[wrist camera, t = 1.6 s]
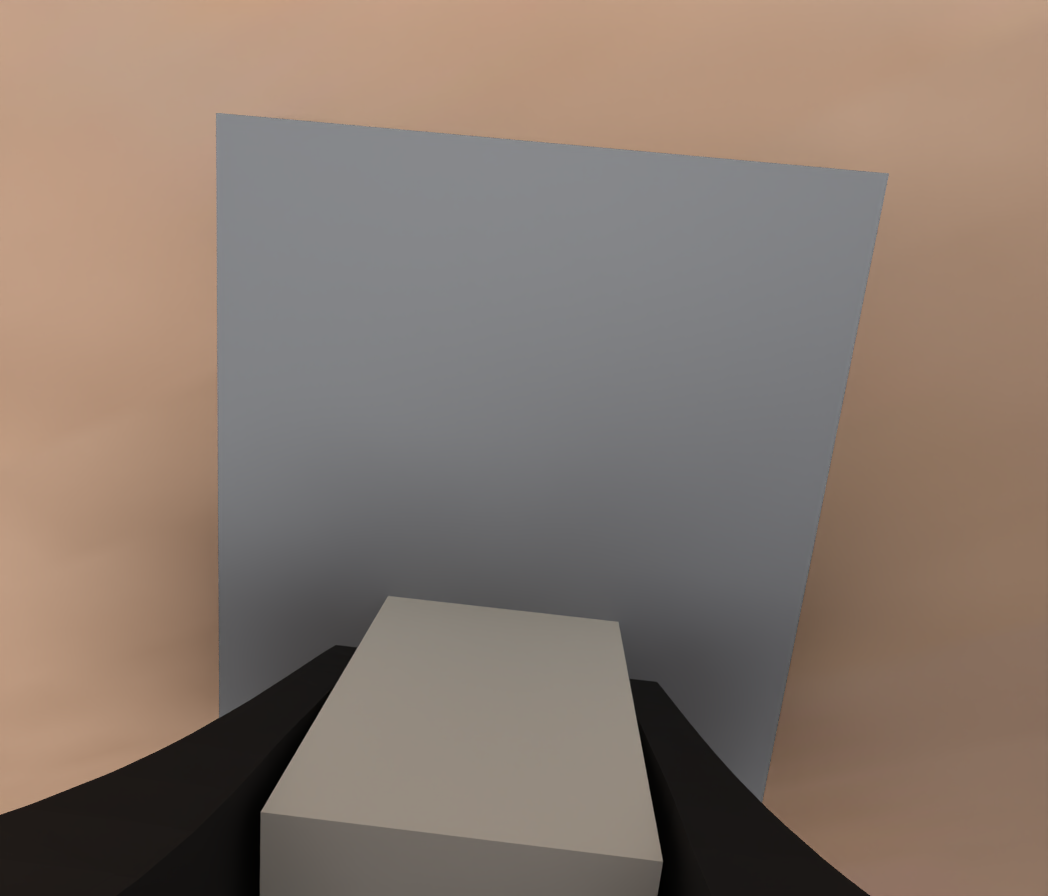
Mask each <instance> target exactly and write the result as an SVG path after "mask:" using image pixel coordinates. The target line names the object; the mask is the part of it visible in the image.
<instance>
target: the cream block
mask: <svg viewBox="0 0 1048 896" xmlns="http://www.w3.org/2000/svg"><path fill="white" fill-rule="evenodd" d="M662 865H663V858H662V853H661V848H660V842H659V837H658V832H657V826H656V821H655V816H654V810H653V805H652V799H651V794H650V789H649V783H648V778H647V773H646V767H645V762H644V756H643V751H642V746H641V740H640V735H639V730H638V724H637V719H636V714H635V708H634V703H633V697H632V692H631V687H630V681H629V676H628V671H627V665H626V660H625V654H624V649H623V644H622V638H621V633H620V628H619V622H616V621H607V620H598V619H589V618H580V617H572V616H563V615H554V614H545V613H536V612H527V611H518V610H509V609H500V608H491V607H482V606H474V605H465V604H456V603H447V602H438V601H429V600H420V599H411V598H402V597H393V596H388V597H387V599H386V600H385V602H384V604H383V605H382V607H381V609H380V610H379V612H378V614H377V616H376V617H375V619H374V621H373V622H372V624H371V626H370V627H369V629H368V631H367V632H366V634H365V636H364V638H363V639H362V641H361V643H360V644H359V646H358V648H357V649H356V651H355V653H354V655H353V656H352V658H351V660H350V661H349V663H348V665H347V666H346V668H345V670H344V671H343V673H342V675H341V677H340V678H339V680H338V682H337V683H336V685H335V687H334V688H333V690H332V692H331V694H330V695H329V697H328V699H327V700H326V702H325V704H324V705H323V707H322V709H321V710H320V712H319V714H318V716H317V717H316V719H315V721H314V722H313V724H312V726H311V727H310V729H309V731H308V733H307V734H306V736H305V738H304V739H303V741H302V743H301V744H300V746H299V748H298V749H297V751H296V753H295V755H294V756H293V758H292V760H291V761H290V763H289V765H288V766H287V768H286V770H285V772H284V773H283V775H282V777H281V778H280V780H279V782H278V783H277V785H276V787H275V788H274V790H273V792H272V794H271V795H270V797H269V799H268V800H267V802H266V804H265V805H264V807H263V809H262V811H261V822H260V896H657V895H658V889H659V883H660V877H661V871H662Z"/></svg>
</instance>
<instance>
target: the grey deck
mask: <svg viewBox="0 0 1048 896" xmlns="http://www.w3.org/2000/svg"><path fill="white" fill-rule="evenodd" d="M216 170H217V367H218V564H219V718H220V717H222V716H223V715H225V714H227V713H229V712H230V711H232V710H234V709H236V708H237V707H239V706H241V705H242V704H244V703H246V702H248V701H249V700H251V699H252V698H254V697H256V696H257V695H259V694H260V693H262V692H263V691H265V690H266V689H268V688H270V687H271V686H273V685H274V684H276V683H277V682H279V681H281V680H282V679H284V678H285V677H287V676H288V675H290V674H291V673H293V672H294V671H296V670H297V669H299V668H300V667H302V666H303V665H305V664H306V663H308V662H309V661H311V660H312V659H314V658H315V657H317V656H319V655H320V654H322V653H323V652H325V651H326V650H328V649H330V648H331V647H333V646H335V645H341V646H350V647H358V646H359V644H360V643H361V641H362V639H363V638H364V636H365V634H366V632H367V631H368V629H369V627H370V626H371V624H372V622H373V621H374V619H375V617H376V616H377V614H378V612H379V610H380V609H381V607H382V605H383V604H384V602H385V600H386V599H387V597H388V596H393V597H402V598H411V599H420V600H429V601H438V602H447V603H456V604H465V605H474V606H482V607H491V608H500V609H509V610H518V611H527V612H536V613H545V614H554V615H563V616H572V617H580V618H589V619H598V620H607V621H616V622H619V628H620V633H621V638H622V644H623V649H624V654H625V660H626V665H627V671H628V676H629V679H637V680H645V681H654V682H658V683H659V685H660V686H661V687H662V688H663V690H664V691H665V692H666V693H667V695H668V696H669V697H670V699H671V700H672V701H673V702H674V704H675V705H676V706H677V707H678V709H679V710H680V711H681V712H682V714H683V715H684V716H685V717H686V719H687V720H688V721H689V722H690V724H691V725H692V726H693V727H694V729H695V730H696V731H697V732H698V733H699V735H700V736H701V737H702V738H703V739H704V741H705V742H706V743H707V744H708V745H709V747H710V748H711V749H712V750H713V751H714V752H715V754H716V755H717V756H718V757H719V758H720V759H721V760H722V761H723V763H724V764H725V765H726V766H727V767H728V768H729V769H730V770H731V771H732V772H733V774H734V775H735V776H736V777H737V778H738V779H739V780H740V781H741V782H742V783H743V784H744V785H745V786H746V787H747V788H748V789H749V790H750V791H751V792H752V793H753V794H754V795H755V796H756V797H757V798H758V799H759V800H760V802H761V803H762V800H763V795H764V790H765V785H766V780H767V775H768V770H769V765H770V761H771V756H772V751H773V746H774V741H775V736H776V731H777V726H778V721H779V716H780V711H781V706H782V701H783V696H784V691H785V686H786V681H787V676H788V671H789V666H790V661H791V656H792V651H793V646H794V642H795V637H796V632H797V627H798V622H799V617H800V612H801V607H802V602H803V597H804V592H805V587H806V582H807V577H808V572H809V567H810V562H811V557H812V552H813V547H814V542H815V537H816V532H817V527H818V522H819V518H820V513H821V508H822V503H823V498H824V493H825V488H826V483H827V478H828V473H829V468H830V463H831V458H832V453H833V448H834V443H835V438H836V433H837V428H838V423H839V418H840V413H841V408H842V403H843V398H844V394H845V389H846V384H847V379H848V374H849V369H850V364H851V359H852V354H853V349H854V344H855V339H856V334H857V329H858V324H859V319H860V314H861V309H862V304H863V299H864V294H865V289H866V284H867V279H868V274H869V270H870V265H871V260H872V255H873V250H874V245H875V240H876V235H877V230H878V225H879V220H880V215H881V210H882V205H883V200H884V195H885V190H886V185H887V180H888V175H889V174H888V173H877V172H866V171H855V170H844V169H833V168H821V167H810V166H799V165H788V164H777V163H766V162H755V161H744V160H733V159H722V158H710V157H699V156H688V155H677V154H666V153H655V152H644V151H633V150H622V149H611V148H599V147H588V146H577V145H566V144H555V143H544V142H533V141H522V140H511V139H500V138H488V137H477V136H466V135H455V134H444V133H433V132H422V131H411V130H400V129H389V128H377V127H366V126H355V125H344V124H333V123H322V122H311V121H300V120H289V119H278V118H266V117H255V116H244V115H233V114H222V113H216Z"/></svg>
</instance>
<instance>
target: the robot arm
mask: <svg viewBox="0 0 1048 896" xmlns="http://www.w3.org/2000/svg"><path fill="white" fill-rule="evenodd" d="M357 648H358V647H350V646H341V645H335V646H333V647H331V648H330V649H328V650H326V651H325V652H323V653H322V654H320V655H319V656H317V657H315V658H314V659H312V660H311V661H309V662H308V663H306V664H305V665H303V666H302V667H300V668H299V669H297V670H296V671H294V672H293V673H291V674H290V675H288V676H287V677H285V678H284V679H282V680H281V681H279V682H277V683H276V684H274V685H273V686H271V687H270V688H268V689H266V690H265V691H263V692H262V693H260V694H259V695H257V696H256V697H254V698H252V699H251V700H249V701H248V702H246V703H244V704H242V705H241V706H239V707H237V708H236V709H234V710H232V711H230V712H229V713H227V714H225V715H223V716H222V717H220V718H218V719H216V720H215V721H213V722H211V723H210V724H208V725H206V726H204V727H203V728H201V729H199V730H197V731H196V732H194V733H192V734H190V735H188V736H186V737H185V738H183V739H181V740H179V741H177V742H175V743H173V744H171V745H169V746H167V747H165V748H163V749H161V750H159V751H157V752H155V753H153V754H151V755H148V756H146V757H144V758H142V759H140V760H138V761H136V762H133V763H131V764H129V765H127V766H125V767H123V768H120V769H118V770H116V771H114V772H111V773H109V774H107V775H104V776H102V777H99V778H97V779H94V780H92V781H89V782H86V783H84V784H81V785H79V786H76V787H74V788H71V789H69V790H66V791H64V792H61V793H59V794H56V795H54V796H51V797H49V798H46V799H43V800H41V801H38V802H36V803H33V804H30V805H28V806H25V807H22V808H19V809H16V810H13V811H10V812H7V813H4V814H1V815H0V896H260V822H261V811H262V809H263V807H264V805H265V804H266V802H267V800H268V799H269V797H270V795H271V794H272V792H273V790H274V788H275V787H276V785H277V783H278V782H279V780H280V778H281V777H282V775H283V773H284V772H285V770H286V768H287V766H288V765H289V763H290V761H291V760H292V758H293V756H294V755H295V753H296V751H297V749H298V748H299V746H300V744H301V743H302V741H303V739H304V738H305V736H306V734H307V733H308V731H309V729H310V727H311V726H312V724H313V722H314V721H315V719H316V717H317V716H318V714H319V712H320V710H321V709H322V707H323V705H324V704H325V702H326V700H327V699H328V697H329V695H330V694H331V692H332V690H333V688H334V687H335V685H336V683H337V682H338V680H339V678H340V677H341V675H342V673H343V671H344V670H345V668H346V666H347V665H348V663H349V661H350V660H351V658H352V656H353V655H354V653H355V651H356V649H357ZM629 681H630V687H631V692H632V697H633V703H634V708H635V714H636V719H637V724H638V730H639V735H640V740H641V746H642V751H643V756H644V762H645V767H646V773H647V778H648V783H649V789H650V794H651V799H652V805H653V810H654V816H655V821H656V826H657V832H658V837H659V842H660V848H661V853H662V858H663V865H662V871H661V877H660V883H659V889H658V895H657V896H870V895H869V894H867V893H866V892H865V891H863V890H862V889H861V888H859V887H858V886H857V885H855V884H854V883H853V882H851V881H850V880H849V879H847V878H846V877H845V876H844V875H842V874H841V873H840V872H839V871H838V870H836V869H835V868H834V867H833V866H831V865H830V864H829V863H828V862H826V861H825V860H824V859H823V858H822V857H821V856H819V855H818V854H817V853H816V852H815V851H814V850H813V849H811V848H810V847H809V846H808V845H807V844H806V843H805V842H803V841H802V840H801V839H800V838H799V837H798V836H797V835H795V834H794V833H793V832H792V831H791V830H790V829H789V828H788V827H786V826H785V825H784V824H783V823H782V822H781V821H780V820H779V819H778V818H777V817H776V816H775V815H774V814H773V813H771V812H770V811H769V810H768V809H767V808H766V807H765V806H764V805H763V804H762V803H761V802H760V800H759V799H758V798H757V797H756V796H755V795H754V794H753V793H752V792H751V791H750V790H749V789H748V788H747V787H746V786H745V785H744V784H743V783H742V782H741V781H740V780H739V779H738V778H737V777H736V776H735V775H734V774H733V772H732V771H731V770H730V769H729V768H728V767H727V766H726V765H725V764H724V763H723V761H722V760H721V759H720V758H719V757H718V756H717V755H716V754H715V752H714V751H713V750H712V749H711V748H710V747H709V745H708V744H707V743H706V742H705V741H704V739H703V738H702V737H701V736H700V735H699V733H698V732H697V731H696V730H695V729H694V727H693V726H692V725H691V724H690V722H689V721H688V720H687V719H686V717H685V716H684V715H683V714H682V712H681V711H680V710H679V709H678V707H677V706H676V705H675V704H674V702H673V701H672V700H671V699H670V697H669V696H668V695H667V693H666V692H665V691H664V690H663V688H662V687H661V686H660V685H659V683H658V682H654V681H645V680H637V679H629Z"/></svg>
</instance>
